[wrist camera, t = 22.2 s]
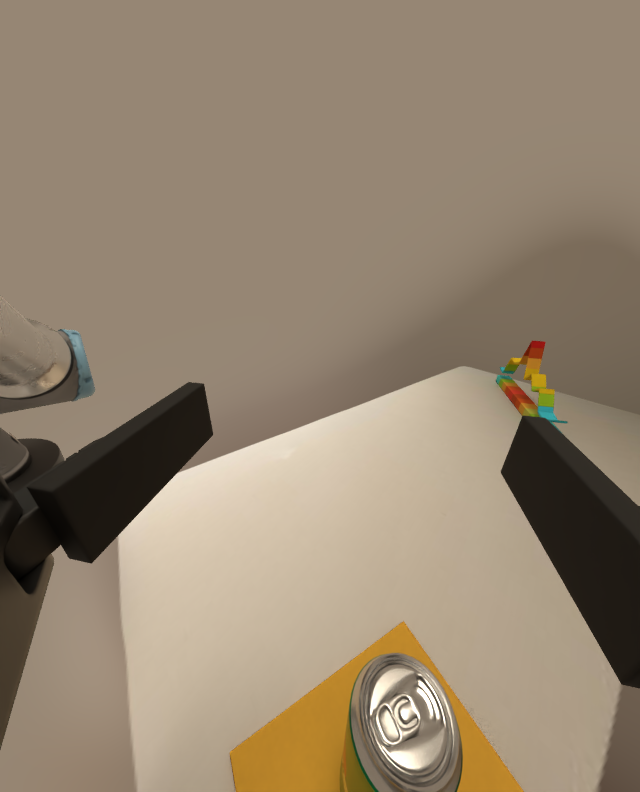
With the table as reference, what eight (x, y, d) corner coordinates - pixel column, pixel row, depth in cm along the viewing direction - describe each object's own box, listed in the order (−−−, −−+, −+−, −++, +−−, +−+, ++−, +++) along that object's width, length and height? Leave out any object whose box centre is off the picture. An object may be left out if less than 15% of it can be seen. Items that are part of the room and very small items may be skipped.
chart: (561, 443, 53) (597, 369, 46) (541, 441, 53) (574, 367, 47) (508, 382, 79) (526, 329, 73) (495, 381, 80) (512, 328, 73)
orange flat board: (310, 1230, 10) (310, 1235, 10) (230, 754, 19) (229, 752, 19) (545, 827, 17) (547, 825, 17) (402, 623, 26) (403, 620, 26)
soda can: (438, 827, 17) (497, 762, 11) (364, 893, 15) (393, 852, 10) (388, 712, 21) (415, 625, 15) (326, 753, 19) (332, 671, 14)
